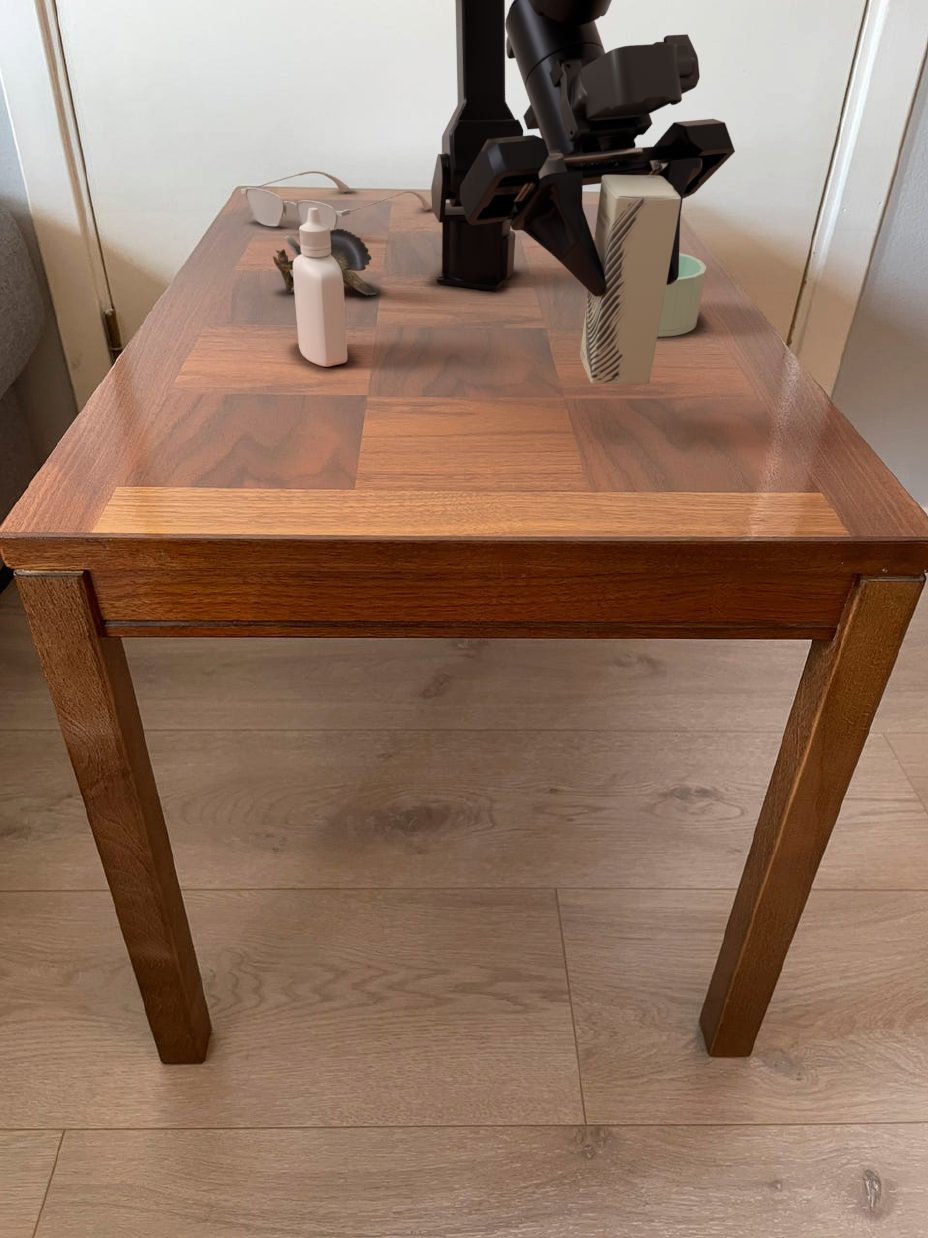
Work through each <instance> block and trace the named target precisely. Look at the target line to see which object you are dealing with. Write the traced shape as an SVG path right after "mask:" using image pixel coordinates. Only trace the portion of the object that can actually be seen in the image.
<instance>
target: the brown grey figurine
mask: <svg viewBox="0 0 928 1238" xmlns="http://www.w3.org/2000/svg"><path fill="white" fill-rule="evenodd" d="M330 239H331V253H330V254H331V255H332V257H333V258H334V259H335V260H336V261H337V263H338V264H339V266H340V268H341V271H342V275H343V284H347V285H348V286H351V287H352V288H353V289H355V290H357V291H359V292H360V293H361V294H363V295H365V296H374V295H377V293H378V291H377V290H376V288H375V287H373V286H372V285H370V284H369V283H367V282H366V281H365V280H363V278H361V277H360V276H359V275H358V274H357V273H356V272H362V271H365V270H366V269H367V267H366V266H369V265H370V261H371V260H372V255H371V254H370V253H369V251H370V250H369V248H368V247H367V246H366V243H364V242H363V241H362V239H361V237H358V236H357V235H356V234H354V233H352V232H351V231H348V230H345V229H343V228H335V230H330ZM284 240H285V242H286V243H287V244H288V247H289V249H290V250H292V252H293V253H294V254H295V255H296V257H297V256H299V255H301V254H302V253H301V247H300V243H298V242H297V241H296V240H295V239H294V238H293V237H292V236H291V235H286V236H285V238H284ZM275 252H276V253H277V256H276V255H273V256H272V260H273V263H274V265H275V266H276V267H277V269H278V270H279V272H280V274H281V276H282V279H283V280H284V284H285V292H286V293H290V292H292V290H293V289H294V280H293V274H291V271H293V262H294V260H289V256H288V255H287V251H286V249H284V248H282V249H281V250H278V249H276V250H275Z"/></svg>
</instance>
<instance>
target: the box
mask: <svg viewBox="0 0 928 1238" xmlns="http://www.w3.org/2000/svg"><path fill="white" fill-rule="evenodd" d="M680 202H681V197H680V196H679V194H678V193H677V192H676V191H675V189H674V188H673V186H672V185H671V184H669V183H668V182H667V180H666V179H665V178H664V177H662V176H657V175H603V176H602V179H601V184H600V188H599V198H598V205H597V215H596V222H595V230H594V237H593V240H594V243H595V246H596V249H597V252H598V255H599V258H600V261H601V264H602V268H603V272H604V276H605V281H606V286H607V289H606V291H605V292H604V293H603V294H602V295H601V296H598V297H595V296H594V295H593V294H592V293H591V292H590V291H589V290H588V289H587V297H586V305H585V313H584V320H583V327H582V328H583V330H582V337H581V344H580V352H579V353H580V354H579V355H580V356H579V357H580V360H581V363H582V366H583V368H584V370H585V373H586V376H587V377H588V379H589V381H590V383H591V384H592V385H622V386H623V385H624V386H625V385H626V386H627V385H628V386H629V385H630V386H631V385H632V386H638V385H639V386H640V385H649V384H650V380H651V374H652V371H653V364H654V357H655V352H656V347H657V341H658V337H657V335H658V329H659V324H660V318H661V312H662V307H663V301H664V296H665V290H666V284H667V278H668V272H669V266H670V261H671V255H672V249H673V244H674V238H675V232H676V226H677V221H678V214H679V208H680Z"/></svg>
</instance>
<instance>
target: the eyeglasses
mask: <svg viewBox="0 0 928 1238" xmlns="http://www.w3.org/2000/svg"><path fill="white" fill-rule="evenodd" d="M308 174H318V175H323V176H325V177H327V178H328V179H330V181H331V180H332V181H333V182H334V184H335V186H336V187H337V188H338V191H340V192H341V193H346V192H348V191H350V187H349V186H348V185H347V184H346V183H345V182H343V181H342V180H341V179H339V178H338V177H336V176H333V175H332V174H329V173H326V172H324V171H318V170H310V171H304V172H299V173H298V174H294V175H290V176H286V177H283V178H280V179H277V180H273V181H270V182H266V183H263V184H259V185H257V186H253V187H252V186H248V187H244V188H241V189H240V193H241V194H242V195H245V199H246V202H247V205H248V207H249V210H250V212H251V214H252V216H253V218H254V219H255V221H257V222H258V223H259V224H261V225H263V226H267V227H278V226H280V224H281V222H282V220H283V218H284V215H286V216H287V212H288V209H287V208H288V207H287V204H290V205H293V206H295V207H296V213H297V216H298V218H299V222H300V225H303V224H305V223H306V222H307V219H308V210H309V208H318V212H319V216H320V220H321V222H322V223H324V224H326V225H328V226H329V227H330V230H336V227H337V224H338V219H339V218H338V217H341V218H343V217H345V216H349V215H351V212H354V211H357V210H360V209H363V208H366V207H370V206H373V205H375V204H378V203H381V202H384V201H387V200H389V199H392V198H395V197H399V196H400V195H403V194H409V193H410V194H413V195H415V196H416V197H417V198H418V199H419V200H420V202H421V205H422V208H423V209H424V211H428V210H429V209H432V204H430V202H429V201H428V200H427V198H426V197H424V196H423V195H422V194H421V193H418V192H416V191H415V190H411V189H406V190H402V191H400V192H397V193H396V194H394V195H391V196H389V197H386V198H383V199H380V200H378V201H374V202H372V203H369V204H365V205H363V206H360V207H356V208H353V209H348V208H347V209H344V210H336V209H335V208H334V207H333V206H332V205H330V204H327V203H324V202H320V201H316V200H308V199H302V200H299V201H297V203H296V202H295V201H291V200H288V201H287V200H285V201H284V200H283V198H282V197H281V196H280V195H278V194H277V193H275V192H272V191H269V190H266V189H262V188H261V187H264V186H266V185H270V184H273V183H276V182H280V181H284V180H286V179H290V178H293V177H299V176H303V175H308Z"/></svg>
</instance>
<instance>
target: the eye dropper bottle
mask: <svg viewBox="0 0 928 1238" xmlns="http://www.w3.org/2000/svg"><path fill="white" fill-rule="evenodd" d="M298 232H299V233H298V234H299V245H300V247H301V253H302V254H301V255H299V256H297V255H296V257H295V258H294V259H293V261H294V262H293V269H292V277H293V280H294V287H293V291H294V303H295V315H296V327H297V339H298V347H299V351H300V353H301V355H302V357H303V358H305V359H306V360H307V361H309V362H310V363H313V364H314V365H317V366H320V367H325V368H326V367H327V368H328V367H333V366H337V365H341V364H345V363H347V361H348V356H349V355H348V339H347V338H348V337H347V321H346V319H347V318H346V302H345V287H344V282H343V275H342V271H341V268H340V266H339V264H338V263H337V261H336V260H335V259H334V258H333V257H332V255H331V254H330V253H331V239H330V227H329V226H328V225H326V224H324V223H322V222H321V220H320V216H319V212H318V208H309V210H308V219H307V222H306V223H305V224H303V225H302V224H300V226H299V227H298Z"/></svg>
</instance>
